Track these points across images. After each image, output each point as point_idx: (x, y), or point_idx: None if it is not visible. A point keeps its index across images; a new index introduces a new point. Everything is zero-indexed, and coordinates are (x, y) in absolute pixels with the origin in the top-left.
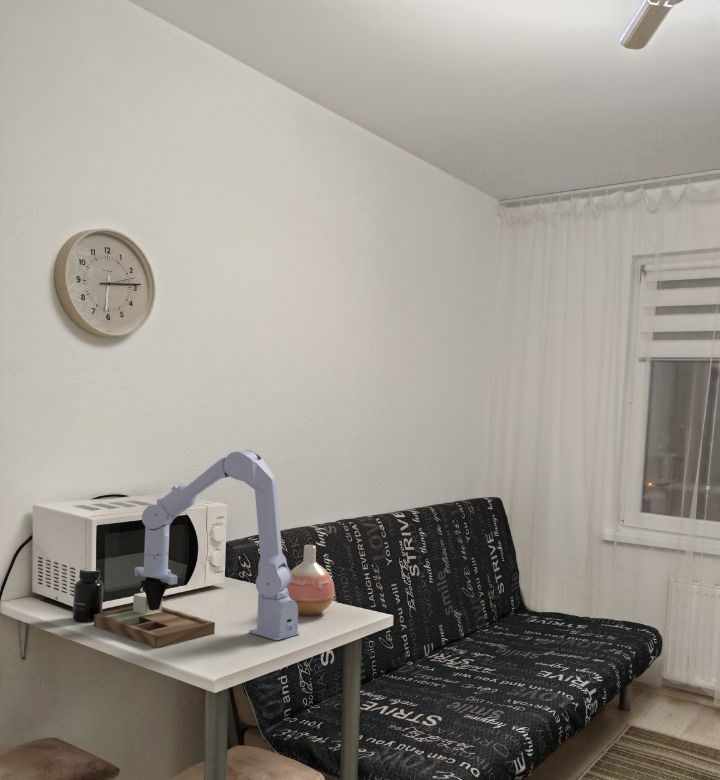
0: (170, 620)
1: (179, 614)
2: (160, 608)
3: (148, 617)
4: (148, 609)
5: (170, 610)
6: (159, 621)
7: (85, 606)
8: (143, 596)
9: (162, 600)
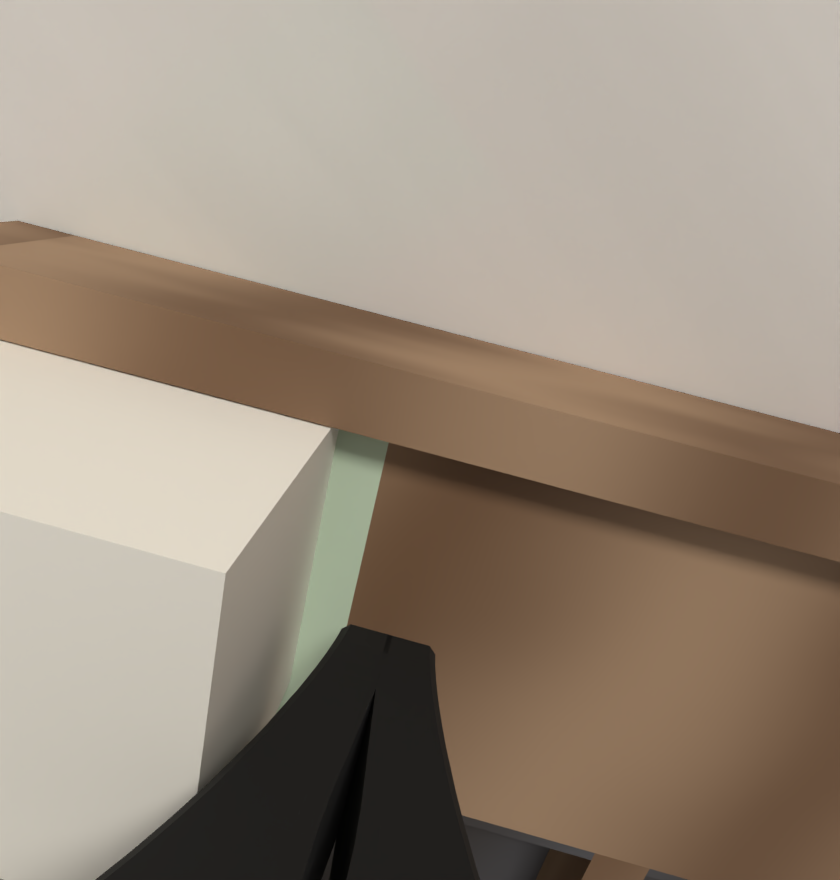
0: (812, 770)
1: (836, 553)
2: (321, 465)
3: None
4: (278, 687)
5: (556, 470)
6: (691, 850)
7: None
8: (44, 866)
9: (283, 500)
